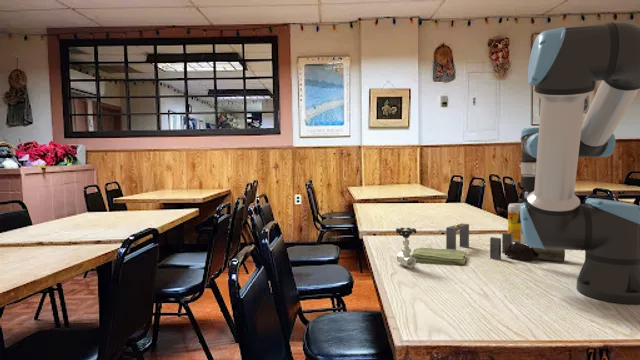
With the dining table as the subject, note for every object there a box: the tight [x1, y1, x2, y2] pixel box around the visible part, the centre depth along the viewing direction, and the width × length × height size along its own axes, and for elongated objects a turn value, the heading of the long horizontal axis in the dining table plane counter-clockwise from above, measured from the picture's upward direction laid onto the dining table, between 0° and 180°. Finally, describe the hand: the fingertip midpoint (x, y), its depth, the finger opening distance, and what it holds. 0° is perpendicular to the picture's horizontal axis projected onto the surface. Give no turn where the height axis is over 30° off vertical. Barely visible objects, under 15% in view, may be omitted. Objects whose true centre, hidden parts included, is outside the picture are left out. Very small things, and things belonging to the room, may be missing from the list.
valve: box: [395, 227, 417, 269], centre depth 129 cm, size 7×7×12 cm
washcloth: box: [410, 247, 467, 266], centre depth 137 cm, size 13×18×3 cm
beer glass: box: [507, 202, 521, 243], centre depth 163 cm, size 6×6×15 cm
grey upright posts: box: [445, 223, 514, 261], centre depth 145 cm, size 12×19×9 cm, turn 45°
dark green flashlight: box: [503, 242, 566, 263], centre depth 134 cm, size 18×7×6 cm, turn 64°
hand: (532, 240), depth 133 cm, fingers open, 13 cm apart
